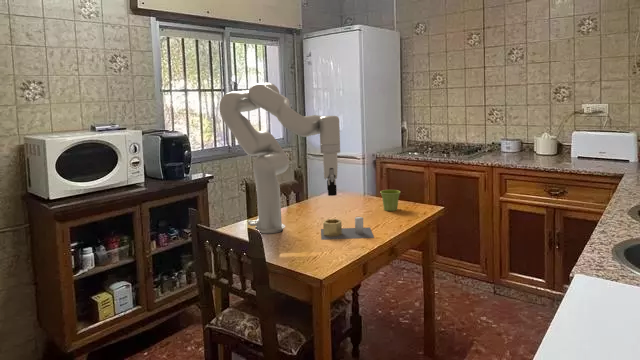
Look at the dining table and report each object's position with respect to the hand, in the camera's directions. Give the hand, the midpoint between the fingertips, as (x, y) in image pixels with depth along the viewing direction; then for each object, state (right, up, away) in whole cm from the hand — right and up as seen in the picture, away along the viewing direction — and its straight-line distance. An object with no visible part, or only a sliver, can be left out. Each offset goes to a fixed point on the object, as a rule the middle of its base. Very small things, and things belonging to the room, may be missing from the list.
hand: (331, 192), depth 196 cm
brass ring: (0, -16, +3) cm, 17 cm away
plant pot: (+28, -9, +42) cm, 51 cm away
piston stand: (+6, -17, +3) cm, 18 cm away
